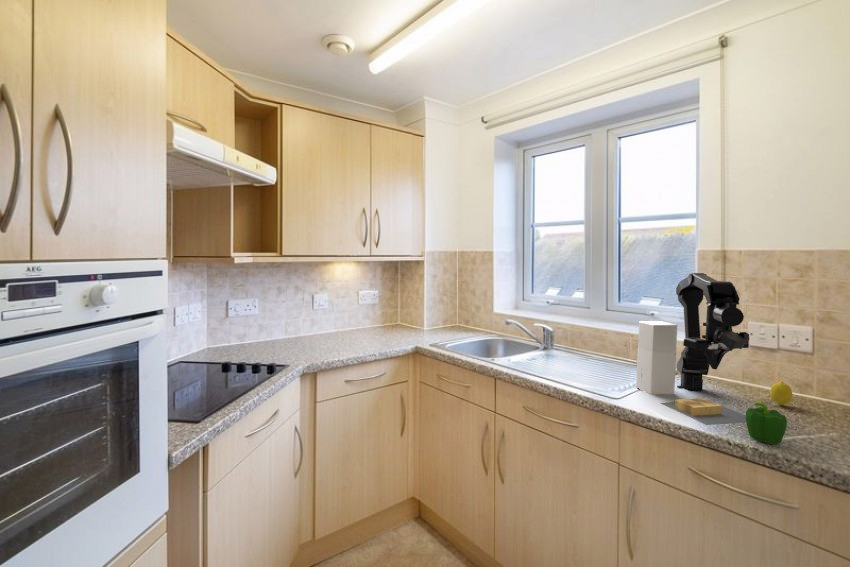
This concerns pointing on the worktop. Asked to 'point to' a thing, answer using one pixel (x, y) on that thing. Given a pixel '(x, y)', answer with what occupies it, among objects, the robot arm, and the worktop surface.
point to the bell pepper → (765, 424)
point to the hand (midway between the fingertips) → (714, 369)
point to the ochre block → (698, 406)
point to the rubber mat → (714, 416)
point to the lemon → (781, 393)
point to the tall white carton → (656, 357)
